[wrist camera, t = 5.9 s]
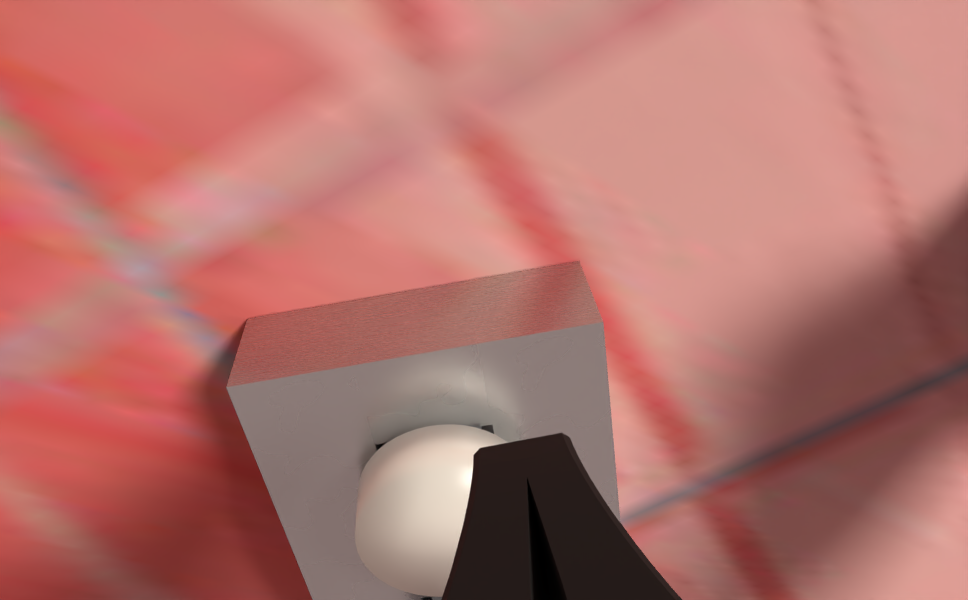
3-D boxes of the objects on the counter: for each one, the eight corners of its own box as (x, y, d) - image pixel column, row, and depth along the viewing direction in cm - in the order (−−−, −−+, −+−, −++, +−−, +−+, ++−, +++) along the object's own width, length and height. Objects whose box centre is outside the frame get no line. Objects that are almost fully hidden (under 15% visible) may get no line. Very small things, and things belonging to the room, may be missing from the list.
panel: (579, 261, 21) (602, 321, 19) (622, 695, 32) (641, 772, 29) (247, 319, 21) (226, 387, 19) (399, 733, 32) (399, 813, 29)
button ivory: (508, 357, 21) (527, 452, 18) (528, 477, 23) (547, 580, 20) (345, 385, 21) (334, 486, 18) (381, 502, 23) (377, 609, 20)
